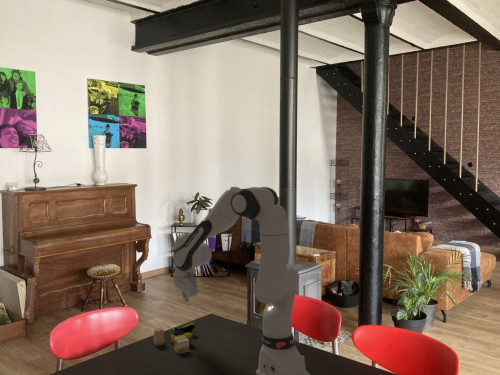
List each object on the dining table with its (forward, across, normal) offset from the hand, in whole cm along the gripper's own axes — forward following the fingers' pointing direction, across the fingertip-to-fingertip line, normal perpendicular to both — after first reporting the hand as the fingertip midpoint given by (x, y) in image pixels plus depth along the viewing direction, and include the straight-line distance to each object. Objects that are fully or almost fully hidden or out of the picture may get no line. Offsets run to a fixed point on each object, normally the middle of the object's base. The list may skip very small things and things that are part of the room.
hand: (186, 301), depth 206 cm
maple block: (+18, -10, +6) cm, 21 cm away
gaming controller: (+18, +1, +2) cm, 18 cm away
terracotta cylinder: (+18, +2, +12) cm, 22 cm away
